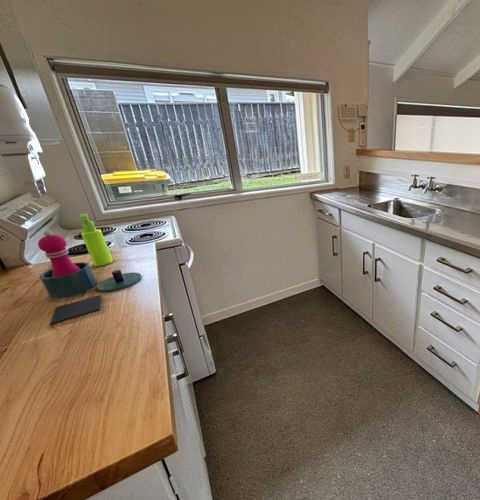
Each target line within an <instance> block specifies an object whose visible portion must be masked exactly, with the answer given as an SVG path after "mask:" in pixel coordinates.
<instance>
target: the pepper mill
mask: <svg viewBox="0 0 480 500" xmlns="http://www.w3.org/2000/svg"><path fill="white" fill-rule="evenodd" d="M67 244H68V242H67V240H66V239H65V238H64V237H63V236H62V235H59V234H53V231H50V230H44V232H43V236H42V237H41V238H40V239H39V240H38V242H37V246H38V248H39V249H40V251H43V252H44V254H45V256H46V258H48V259H49V261H50V262H51V265H52V268H53V272H52V277H58V276H63V275H67V274H70V273H73V272H76V271H79V270H81V269H80V268H79V267H78V266H76V265H75V264H74V263H75V262H73V261H72V260H71V258H70V257H69V253H70V251H69V250H68V248H66V246H67Z"/></svg>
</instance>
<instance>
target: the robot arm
mask: <svg viewBox="0 0 480 500" xmlns="http://www.w3.org/2000/svg"><path fill="white" fill-rule="evenodd" d="M38 153H43V149H42V147H41V145H40V142H39V139H38V138H37V136H36V133H35V132H34V131H33V129H32V128H31V126H30V121H29V117H28V114H27V111H26V110H25V108H24V106H23V104H22V102H21V100H20V99H19V97H18V95H17V94H16V93H15V92H14V91H13V90H12V89H11V88H9V87H8V86H5V85H3V84H1V83H0V158H1V160H2V162H3V164H4V166H5V167H6V169H7V170H8V172H9V174H10V175H11V177H12V178H13V180H14V181H15V182H16V183H17V184H18V185H20V184H24V186H25V188H26V189H27V191H28V192H29V193H30V197H31V198H33V199H40V198H42V195H43V194H46V193H47V192H48V191H47V189H46V185H45V182H44V178H45V177H46V172H45V170H44V168H43V165H42V164H41V161H40V157H39V154H38Z"/></svg>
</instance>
